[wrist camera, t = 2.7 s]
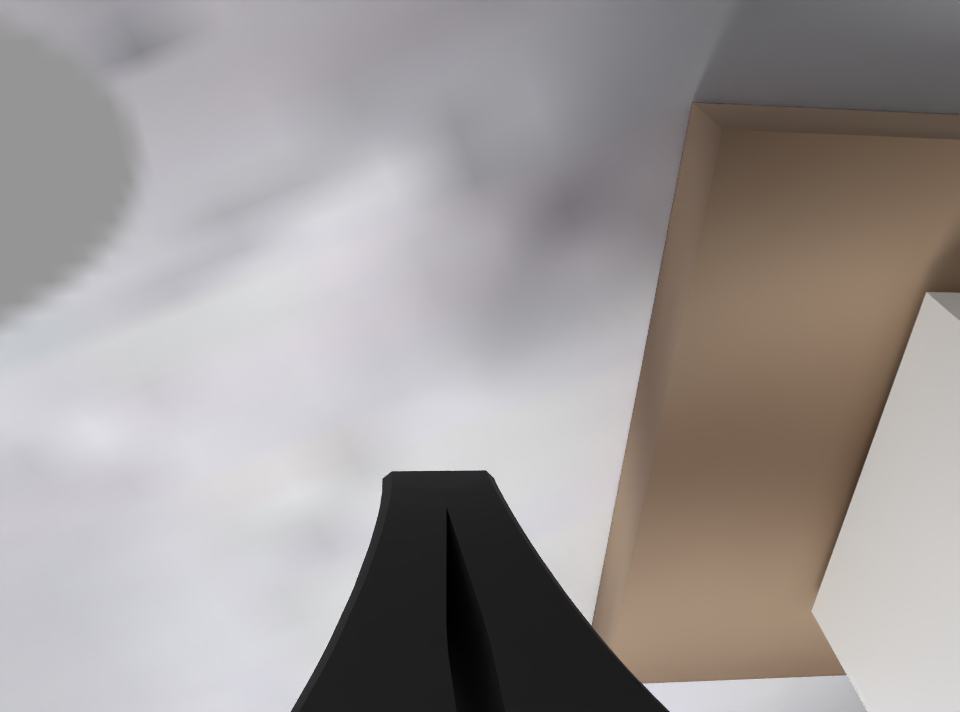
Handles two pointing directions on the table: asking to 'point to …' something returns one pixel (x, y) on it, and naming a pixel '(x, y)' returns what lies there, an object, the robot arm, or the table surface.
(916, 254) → the test bench
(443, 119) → the table surface
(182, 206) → the table surface
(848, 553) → the gauge
